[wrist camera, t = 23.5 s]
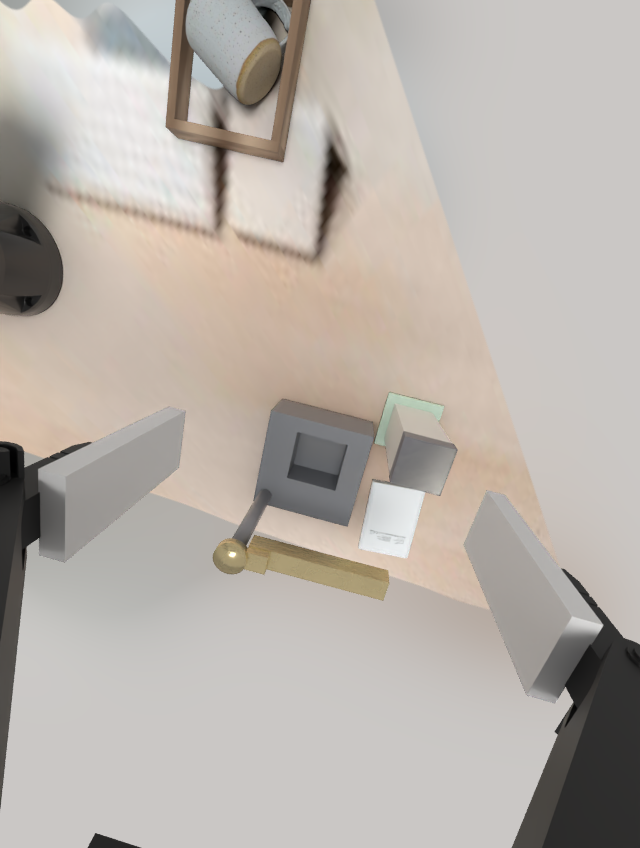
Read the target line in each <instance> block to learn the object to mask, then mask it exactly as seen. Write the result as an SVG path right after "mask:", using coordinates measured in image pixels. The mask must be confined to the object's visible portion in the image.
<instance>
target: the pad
mask: <svg viewBox="0 0 640 848" xmlns="http://www.w3.org/2000/svg"><path fill="white" fill-rule="evenodd" d="M395 403H396V404H400V405H404V406H408V407H412V408H416V409H420V410H424V411H428V412H432V413H433V414H434V416H435V417H436V419H437V420H438V422H439V420H440V417H441V415H442V412H443V409H444V406H443V405H439V404H435V403H431V402H427V401H423V400H419V399H415V398H411V397H407V396H404V395H400V394H396V393H392V392H389V394H388V397H387V401H386V404H385V407H384V411H383V414H382V417H381V421H380V424H379V427H378V431H377V434H376V437H375V441H374V443H375V444H378V445H382V446H385V440H384V437H385V434H386V431H387V427H388V424H389V421H390V418H391V414H392V411H393V408H394V405H395Z"/></svg>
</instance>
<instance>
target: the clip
mask: <svg viewBox="0 0 640 848" xmlns="http://www.w3.org/2000/svg"><path fill="white" fill-rule="evenodd" d="M213 562H214V564H215V565H216V567H217V568H218V569H219V570H220V571H222V572H224V573H227V574H237V573H239V572H241V571H242V570H243V569H246V570H249V571H253V572H256V573H260V574H265V572H266V569H268V570H271V571H275V572H279V573H283V574H286V575H290V576H294V577H297V578H301V579H305V580H309V581H312V582H316V583H320V584H323V585H327V586H331V587H335V588H338V589H342V590H345V591H349V592H353V593H356V594H360V595H364V596H368V597H371V598H375V599H379V600H382V601H383V600H384V597H385V594H386V591H387V588H388V585H389V575H388V570H384V569H380V568H377V567H373V566H369V565H365V564H362V563H358V562H354V561H350V560H347V559H343V558H339V557H335V556H332V555H328V554H324V553H320V552H317V551H313V550H309V549H305V548H302V547H298V546H294V545H290V544H286V543H283V542H279V541H275V540H271V539H267V538H264V537H260V536H256V535H254V537H253V539H252V541H251V543H250V545H249V547H248V548H247V547H246V545H245V544H244V543H242V542H241V541H239V540H237V539H232V538H231V539H225V540H223V541H222V542H220V544H219V545H218V547H217V548H216V550H215V551H214V553H213Z"/></svg>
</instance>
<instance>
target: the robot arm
mask: <svg viewBox="0 0 640 848" xmlns="http://www.w3.org/2000/svg"><path fill="white" fill-rule="evenodd" d="M61 283H62V264H61V259H60V255H59V251H58V249H57V246H56V244H55V242H54V240H53V238H52V236H51V235H50V233H49V232H48V230H47V229H46V228H45V226H44V225H43V224H42V223H41V222H40V221H39V220H38V219H37V218H36V217H35V216H33V215H32V214H31V213H29V212H28V211H26V210H24V209H22V208H20V207H17V206H14V205H11V204H7V203H4V202H0V313H1V314H5V315H12V316H28V315H35V314H38V313H41V312H43V311H45V310H46V309H47V308H49V307H50V306H51V305H52V303H53V302H54V301H55V299H56V298H57V296H58V293H59V291H60V288H61ZM185 413H186V411H184V410H180V409H177V408H173V407H167V408H165V409H162V410H160V411H158V412H156V413H154V414H152V415H150V416H148V417H146V418H144V419H142V420H139V421H137V422H135V423H133V424H131V425H129V426H127V427H125V428H123V429H121V430H119V431H116V432H114V433H112V434H110V435H108V436H106V437H104V438H102V439H100V440H98V441H96V442H93V443H92V442H87V443H83V444H78V445H74V446H71V447H69V448H67V449H65V450H62V451H61V452H60V453H56V454H54V455H52V456H50V458H48V457H47V458H45V459H43V460H41V461H38V462H36V463H34V464H32V465H30V466H27V467H25V468H24V450H23V448H22V447H21V446H19V445H18V444H15V443H10V442H2V441H0V807H1V797H2V788H3V787H2V786H3V778H4V769H5V759H6V750H7V740H8V730H9V721H10V711H11V702H12V693H13V683H14V674H15V663H16V654H17V644H18V635H19V626H20V616H21V607H22V598H23V587H24V578H25V569H26V559H27V549H26V548H27V546H28V545H29V544H31V543H32V542H34V541H35V540H37V539H38V538H39V555H40V556H44V557H47V558H51V559H55V560H58V561H61V562H66V561H67V560H68V559H69V558H71V557H72V556H73V555H74V554H76V553H77V552H78V551H79V550H80V549H82V548H83V547H84V546H85V545H86V544H88V543H89V542H90V541H91V540H92V539H94V538H95V537H96V536H97V535H98V534H99V533H101V532H102V531H103V530H104V529H106V528H107V527H108V526H109V525H110V524H112V523H113V522H114V521H115V520H116V519H118V518H119V517H120V516H121V515H122V514H123V513H125V512H126V511H127V510H128V509H130V508H131V507H132V506H133V505H134V504H136V503H137V502H138V501H139V500H141V499H142V498H143V497H144V496H145V495H147V494H148V493H149V492H150V491H151V490H153V489H154V488H155V487H156V486H157V485H159V484H160V483H161V482H162V481H163V480H165V479H166V478H167V477H168V476H169V475H171V474H172V473H173V472H174V471H175V470H177V469H178V468H179V462H180V454H181V446H182V438H183V429H184V421H185ZM464 547H465V549H466V552H467V554H468V557H469V559H470V561H471V564H472V566H473V569H474V571H475V573H476V576H477V578H478V581H479V583H480V585H481V588H482V590H483V593H484V595H485V597H486V600H487V602H488V604H489V607H490V609H491V612H492V614H493V616H494V618H495V621H496V623H497V626H498V628H499V631H500V633H501V636H502V638H503V640H504V643H505V645H506V648H507V650H508V652H509V655H510V657H511V659H512V662H513V664H514V667H515V669H516V671H517V674H518V676H519V679H520V681H521V683H522V686H523V688H524V691H525V693H526V695H527V696H531V697H534V698H538V699H541V700H545V701H548V702H552V703H556V701H557V700H558V698H559V696H560V695H561V693H562V691H563V690H564V688H565V687H566V688H567V690H568V692H569V694H570V696H571V698H572V699H573V701H574V702H573V704H572V705H571V707H570V708H569V710H568V712H567V713H566V715H565V717H564V718H563V719H562V721H561V723H560V724H559V726H558V727H557V729H556V730H555V732H556V733H557V734H558V736H557V738H556V741H555V743H554V746H553V748H552V751H551V753H550V755H549V758H548V760H547V763H546V765H545V768H544V770H543V773H542V775H541V778H540V780H539V783H538V785H537V787H536V790H535V792H534V795H533V797H532V800H531V802H530V804H529V807H528V809H527V812H526V814H525V817H524V819H523V822H522V824H521V826H520V829H519V832H518V834H517V836H516V839H515V841H514V844H513V846H512V848H640V645H639V644H638V643H636V642H633V641H631V640H628V639H625V638H623V636H622V635H621V634H620V633H619V631H618V630H617V629H616V628H615V627H614V625H613V624H612V623H611V621H610V620H609V619H608V617H606V615H605V614H604V613H603V611H602V610H601V609H600V608H599V607H597V604H596V602H595V601H594V600H593V598H592V597H590V596H589V593H588V592H587V591H586V590H585V589H584V587H583V586H582V585H581V583H580V582H579V581H578V580H576V579H575V578H574V577H573V576H572V575H571V574H569V573H568V572H567V571H566V570H565V569H562V568H560V567H559V566H558V564H557V563H556V562H555V560H554V559H553V558H552V556H551V555H550V554H549V552H548V551H547V550H546V548H545V547H544V546H543V544H542V543H541V542H540V541H539V539H538V538H537V537H536V535H535V534H534V533H533V531H532V530H531V529H530V527H529V526H528V525H527V523H526V522H525V521H524V519H523V518H522V517H521V515H520V514H519V513H518V512H517V510H516V509H515V508H514V506H513V505H512V504H511V502H510V501H509V500H508V498H507V497H506V496H505V495H503V494H499V493H496V492H492V491H488V490H486V493H485V495H484V498H483V500H482V502H481V505H480V507H479V509H478V512H477V514H476V516H475V519H474V521H473V524H472V526H471V528H470V531H469V533H468V535H467V538H466V540H465V542H464ZM88 848H140V847H137V846H134V845H131V844H128V843H125V842H121V841H118V840H115V839H112V838H109V837H106V836H103V835H100V834H97V833H95V835H94V837H93V839H92V841H91V843H90V844H89V846H88Z"/></svg>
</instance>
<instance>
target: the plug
mask: <svg viewBox="0 0 640 848" xmlns="http://www.w3.org/2000/svg"><path fill="white" fill-rule="evenodd" d="M384 440H385V447H386V454H387V461H388V468H389V479H390V483H393V484H397V485H401V486H404V487H408V488H412V489H416V490H419V491H423V492H427V493H431V494H434V495H438V496H440V495H441V492H442V489H443V487H444V484H445V482H446V479H447V476H448V474H449V471H450V468H451V466H452V463H453V461H454V458H455V455H456V453H457V448H456V447H455V445H454V444H453V443H452V442H451V440H450V439H449V437H448V436H447V434H446V433H445V431H444V430H443V428H442V427H441V425H440V424H439V422H438V420H437V419H436V417H435V416H434V414H433V413H432V412H428V411H424V410H420V409H416V408H412V407H408V406H404V405H400V404H396V403H395V405H394V408H393V411H392V414H391V418H390V421H389V424H388V427H387V431H386V434H385V437H384Z"/></svg>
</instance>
